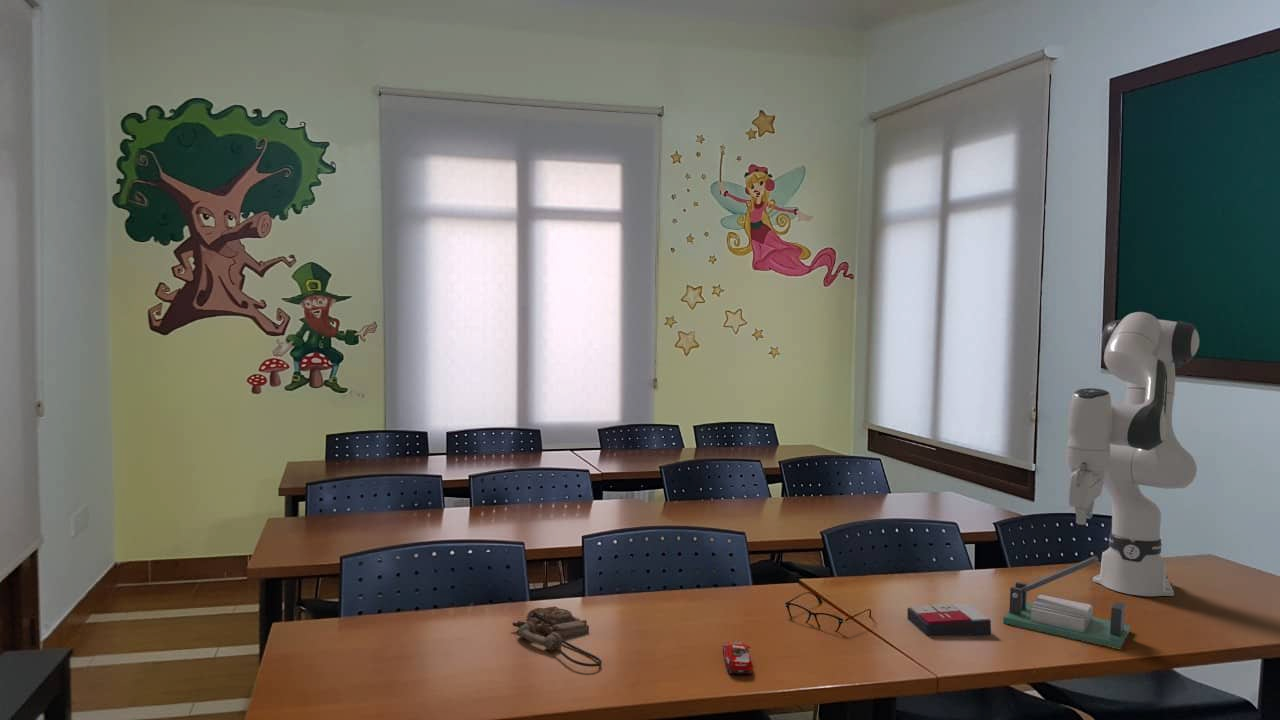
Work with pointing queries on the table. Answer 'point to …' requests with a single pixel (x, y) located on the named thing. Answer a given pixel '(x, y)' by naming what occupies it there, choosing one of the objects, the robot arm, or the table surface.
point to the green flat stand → (1066, 618)
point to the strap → (1060, 574)
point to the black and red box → (949, 620)
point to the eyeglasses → (819, 613)
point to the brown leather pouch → (554, 629)
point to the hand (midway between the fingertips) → (1084, 520)
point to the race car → (737, 658)
